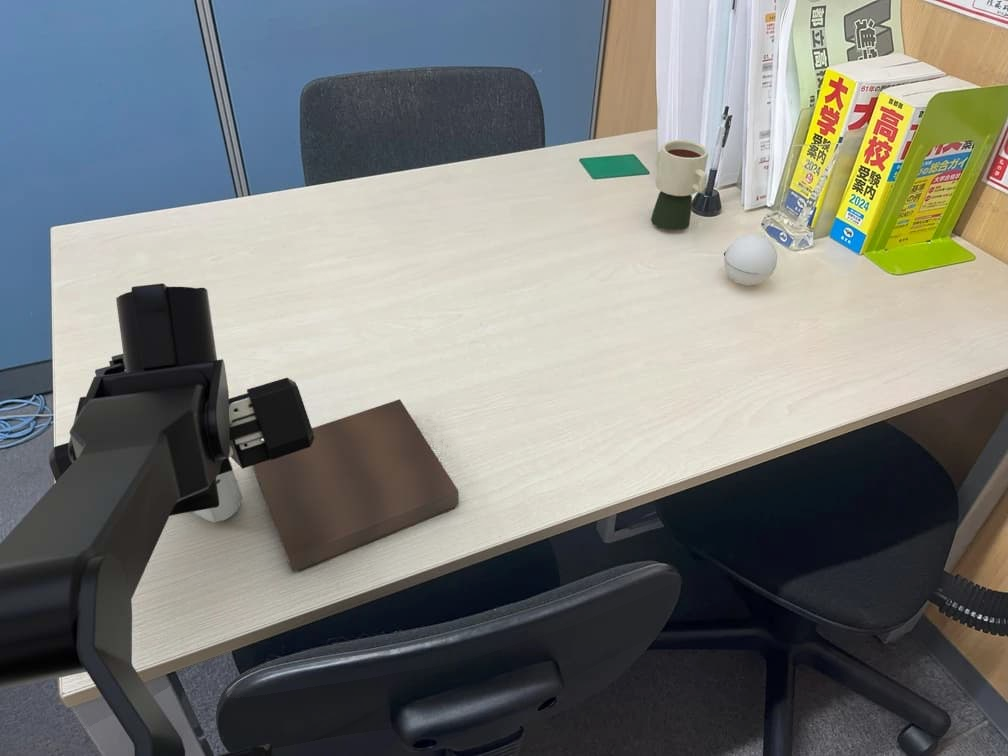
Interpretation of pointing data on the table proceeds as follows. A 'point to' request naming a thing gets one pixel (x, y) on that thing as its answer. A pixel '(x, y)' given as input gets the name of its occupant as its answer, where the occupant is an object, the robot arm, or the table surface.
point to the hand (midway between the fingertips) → (194, 450)
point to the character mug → (678, 182)
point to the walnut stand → (354, 485)
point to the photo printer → (224, 498)
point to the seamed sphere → (750, 259)
